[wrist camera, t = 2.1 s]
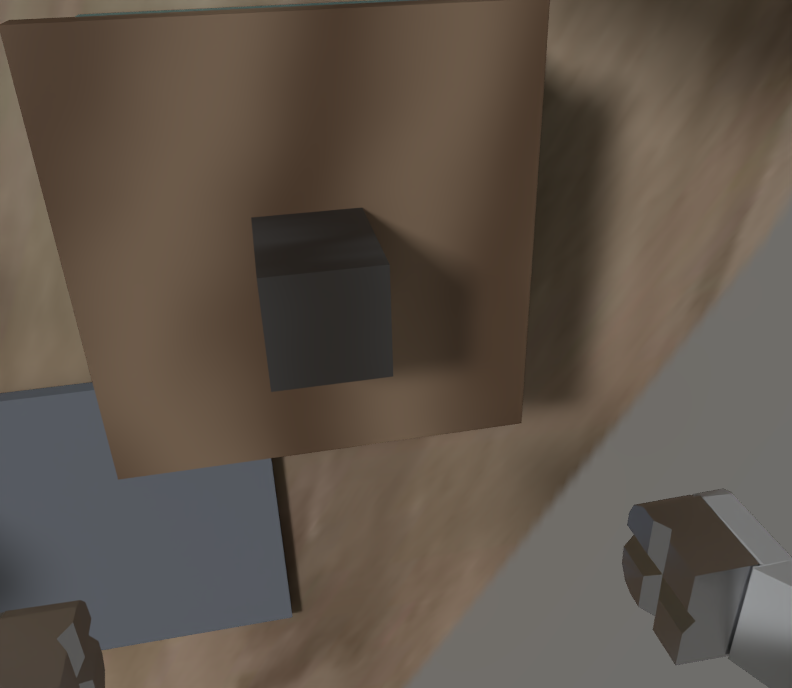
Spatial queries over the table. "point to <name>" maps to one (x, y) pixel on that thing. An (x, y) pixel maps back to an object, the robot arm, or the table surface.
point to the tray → (131, 529)
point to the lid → (291, 218)
